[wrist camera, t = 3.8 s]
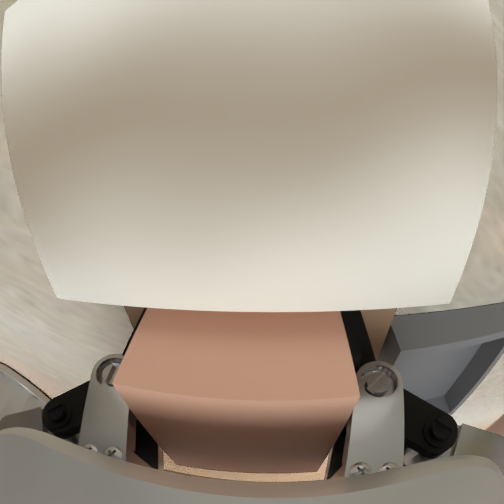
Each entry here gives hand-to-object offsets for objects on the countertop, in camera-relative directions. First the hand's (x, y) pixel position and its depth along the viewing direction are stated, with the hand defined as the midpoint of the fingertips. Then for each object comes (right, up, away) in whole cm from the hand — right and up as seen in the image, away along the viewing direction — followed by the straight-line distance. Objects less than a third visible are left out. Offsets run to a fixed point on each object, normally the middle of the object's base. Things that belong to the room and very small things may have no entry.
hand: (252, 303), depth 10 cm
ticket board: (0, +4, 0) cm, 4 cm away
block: (0, 0, 0) cm, 1 cm away
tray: (+12, -6, +5) cm, 14 cm away
